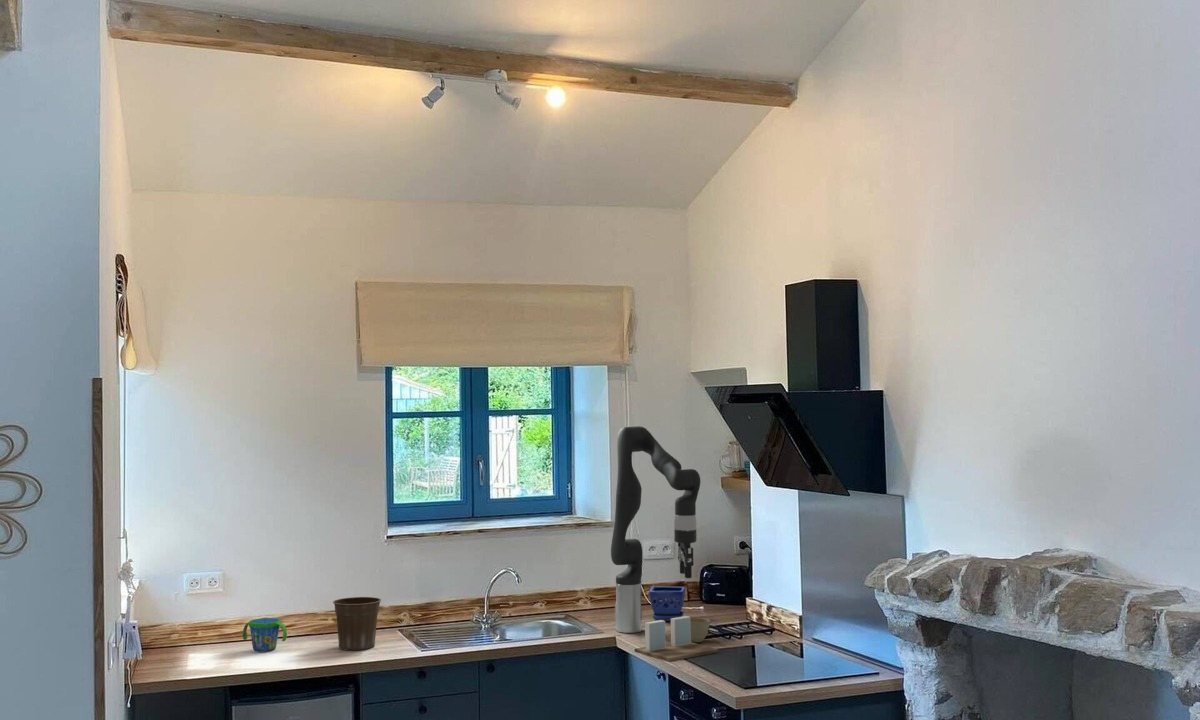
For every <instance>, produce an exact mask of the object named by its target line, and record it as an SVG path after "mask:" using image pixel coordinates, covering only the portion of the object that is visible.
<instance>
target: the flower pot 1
mask: <svg viewBox="0 0 1200 720" xmlns="http://www.w3.org/2000/svg"><path fill="white" fill-rule="evenodd" d="M685 596H686V587H685V586H668V585H667V586H662V585H660V586H656V585H655V586H652V587H650V590H649V601H650V606H651V609H652V611H653V613H652V619H653V621H658V620H664V621H665V622H671V618H677V617H683V616H684V611H683V610H682V609H683V606H684V603H685V602H684V601H685Z"/></svg>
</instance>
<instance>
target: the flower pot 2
mask: <svg viewBox="0 0 1200 720" xmlns="http://www.w3.org/2000/svg"><path fill="white" fill-rule="evenodd" d="M710 623H711V620H710V619H709V618H705V617H690V631H691V642H692V643H702V642H703V641H704V640H705V638H706V636H707V634H708V633H709V628H710Z"/></svg>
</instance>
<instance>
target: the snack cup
mask: <svg viewBox="0 0 1200 720" xmlns="http://www.w3.org/2000/svg"><path fill="white" fill-rule="evenodd" d="M248 627H249V630H250V637H251V638H250V639H251V644H252V645H251V646H252V650H253V651H254V652H257V653H263V652H264V653H266V652H273V651H275V649H276V648H277V644H278V639H279V638H278V637H279V631H280V628H281V631H282V632H283V633H282V639H281V642H285V641H286V640H287V637H288V633H287V628H286V625H285V623H283V622H282V621H281V619H280V618H277V617H264V618H263V617H262V618H255V619H251V620H249V621H248V622H246V623H245V624H244V627H243V630H242V639H243V640H244V641H246V640H247V639H248Z"/></svg>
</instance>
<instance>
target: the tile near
mask: <svg viewBox="0 0 1200 720" xmlns="http://www.w3.org/2000/svg"><path fill="white" fill-rule="evenodd" d="M644 632H645V633H644V634H645V635H644V636H645V637H644V638H645V639H644V641H645V642H644V643H645V644H644V645H645V646H644V647H645V650H647V651H653V650H659V649H664V648H666V643H667V642H666V621H664V620H658V621H655V620H653V621H647V622H644Z"/></svg>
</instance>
